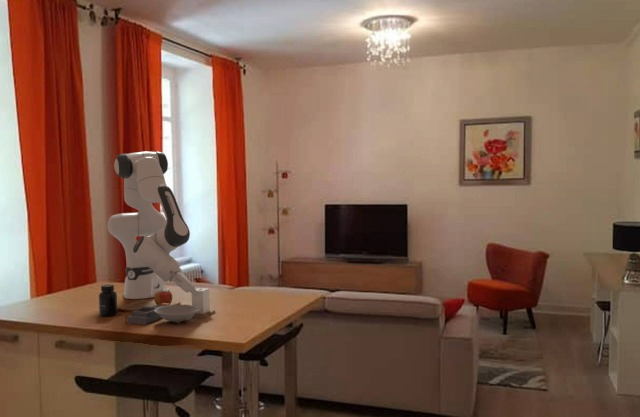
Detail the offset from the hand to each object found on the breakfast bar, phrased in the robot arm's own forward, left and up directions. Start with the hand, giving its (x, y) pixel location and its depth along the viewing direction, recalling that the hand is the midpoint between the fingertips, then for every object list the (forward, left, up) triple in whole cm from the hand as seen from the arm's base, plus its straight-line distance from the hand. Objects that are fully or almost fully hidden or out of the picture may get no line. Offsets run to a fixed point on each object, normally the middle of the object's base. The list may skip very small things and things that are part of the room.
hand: (195, 292), depth 215 cm
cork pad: (-1, +2, -9) cm, 9 cm away
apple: (-8, -20, -9) cm, 24 cm away
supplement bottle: (+8, -35, -9) cm, 37 cm away
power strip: (+4, -15, -9) cm, 18 cm away
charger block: (-1, +2, -8) cm, 8 cm away
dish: (+12, -1, -9) cm, 15 cm away
